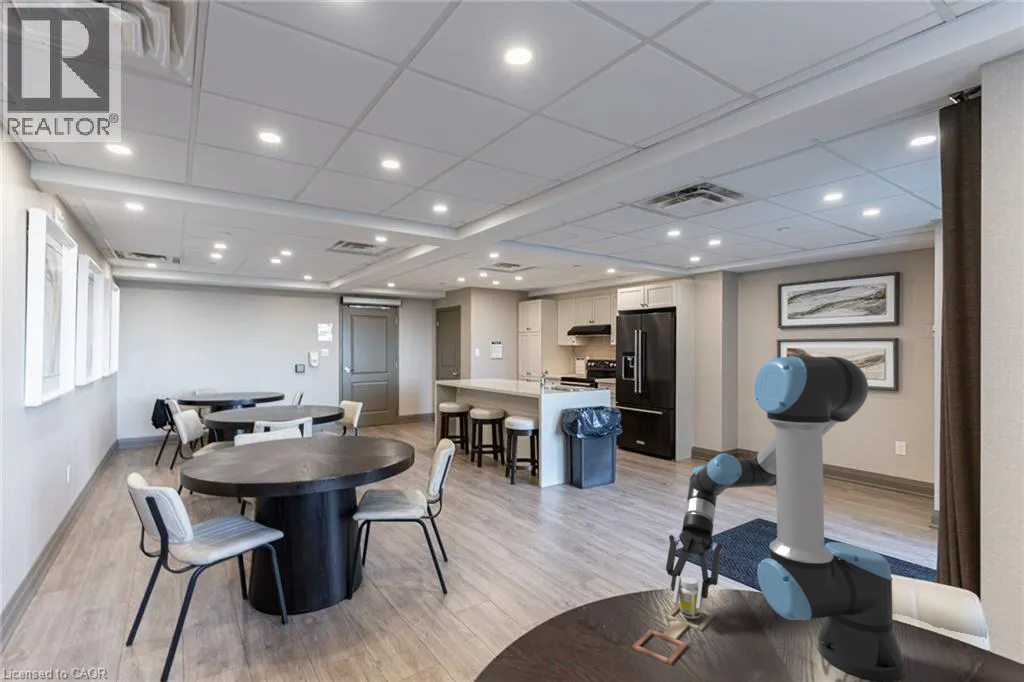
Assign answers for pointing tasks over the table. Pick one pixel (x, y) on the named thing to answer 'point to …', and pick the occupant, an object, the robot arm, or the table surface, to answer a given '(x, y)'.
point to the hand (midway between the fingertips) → (686, 607)
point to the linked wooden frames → (672, 635)
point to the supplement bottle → (689, 597)
